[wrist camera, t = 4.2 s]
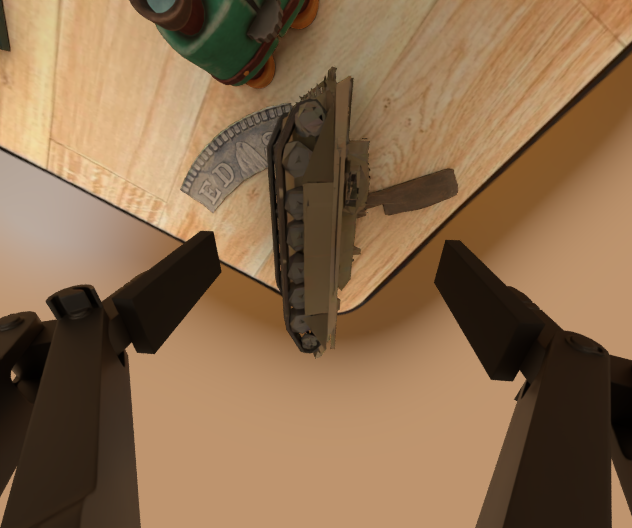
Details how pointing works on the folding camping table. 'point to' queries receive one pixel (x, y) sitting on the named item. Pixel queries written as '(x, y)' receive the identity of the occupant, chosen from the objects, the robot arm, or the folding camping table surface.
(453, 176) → the brown cleaver
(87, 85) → the folding camping table surface
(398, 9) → the folding camping table surface
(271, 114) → the coin fragment
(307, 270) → the tank
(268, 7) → the binoculars
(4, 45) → the box
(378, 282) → the folding camping table surface
